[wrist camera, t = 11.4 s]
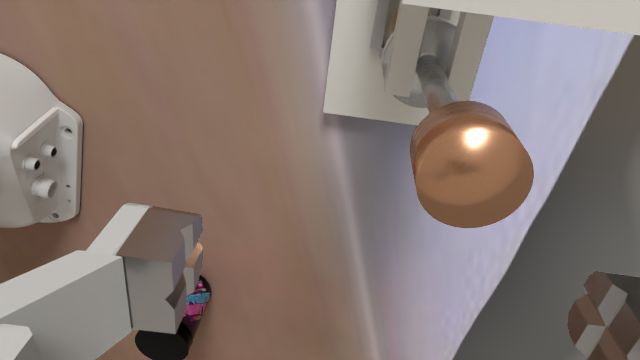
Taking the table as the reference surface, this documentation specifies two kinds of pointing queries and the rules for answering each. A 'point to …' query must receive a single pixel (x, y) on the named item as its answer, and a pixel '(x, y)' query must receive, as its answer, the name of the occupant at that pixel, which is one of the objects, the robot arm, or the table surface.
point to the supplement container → (175, 347)
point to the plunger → (460, 143)
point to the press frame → (413, 6)
